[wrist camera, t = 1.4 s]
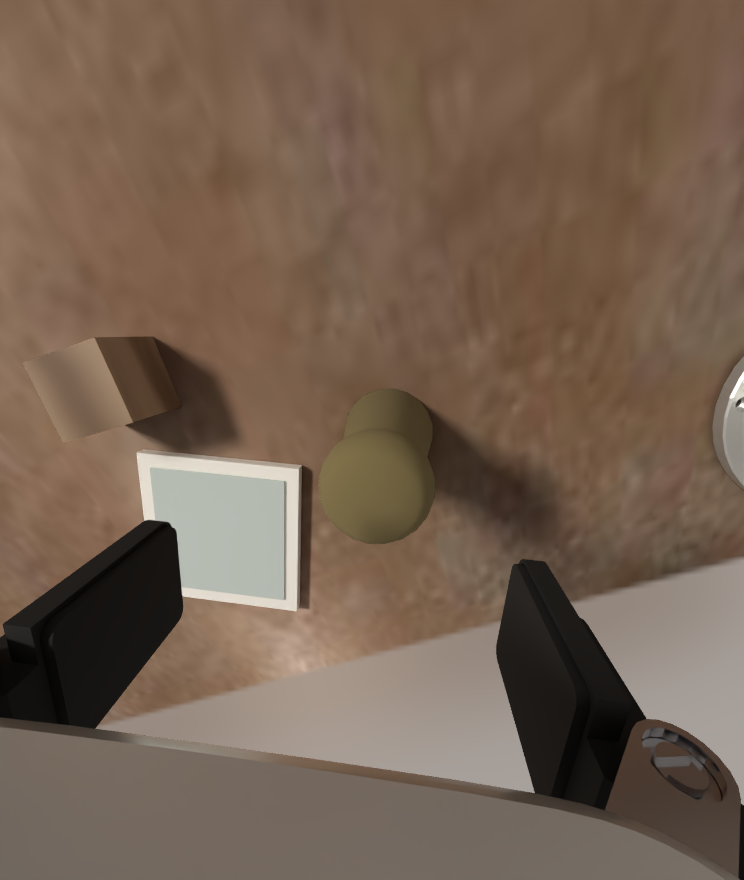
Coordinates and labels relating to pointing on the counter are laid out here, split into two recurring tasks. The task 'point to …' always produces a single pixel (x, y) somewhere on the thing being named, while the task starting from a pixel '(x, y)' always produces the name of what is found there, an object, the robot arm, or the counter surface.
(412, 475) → the olive rounded tall piece
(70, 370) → the walnut block
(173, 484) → the plate
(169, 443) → the counter surface
